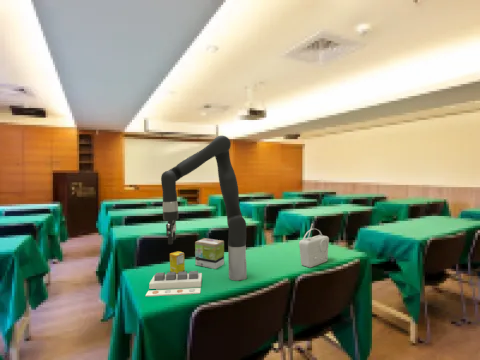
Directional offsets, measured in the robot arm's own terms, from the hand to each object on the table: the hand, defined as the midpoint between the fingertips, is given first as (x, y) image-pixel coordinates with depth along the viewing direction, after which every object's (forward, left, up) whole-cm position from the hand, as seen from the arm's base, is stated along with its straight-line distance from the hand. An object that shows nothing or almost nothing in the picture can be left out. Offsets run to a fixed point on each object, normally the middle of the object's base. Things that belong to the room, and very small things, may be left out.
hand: (172, 242), depth 138 cm
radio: (-82, -18, -21) cm, 86 cm away
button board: (-2, +2, -21) cm, 21 cm away
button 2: (-5, +2, -18) cm, 19 cm away
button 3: (+1, +2, -19) cm, 19 cm away
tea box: (-18, -25, -21) cm, 37 cm away
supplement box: (0, -15, -21) cm, 26 cm away
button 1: (-11, +2, -19) cm, 21 cm away
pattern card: (-2, +12, -21) cm, 24 cm away
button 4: (+6, +2, -19) cm, 20 cm away
